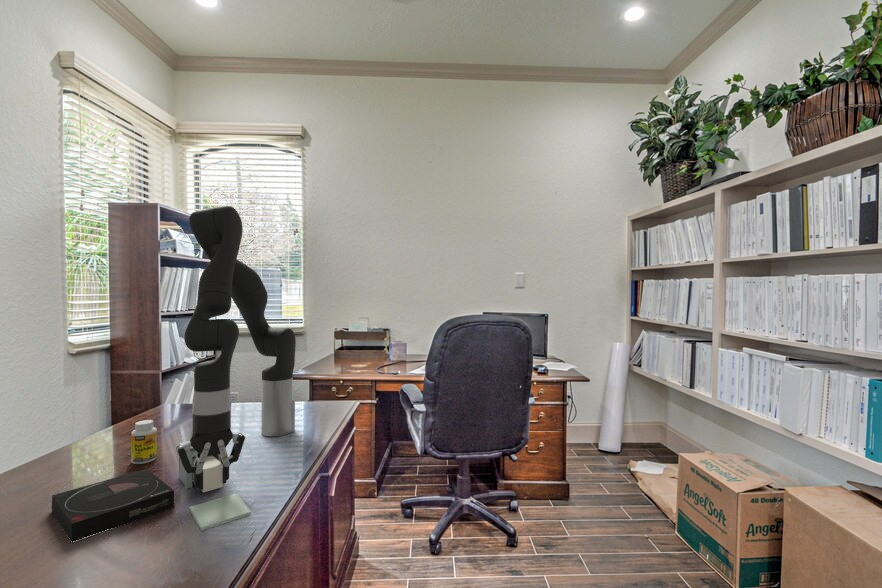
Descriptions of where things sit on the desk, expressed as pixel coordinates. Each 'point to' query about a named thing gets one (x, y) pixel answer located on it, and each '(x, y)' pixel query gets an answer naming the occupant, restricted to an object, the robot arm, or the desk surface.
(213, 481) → the beige rectangular block
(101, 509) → the portable cd player
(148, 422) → the supplement bottle
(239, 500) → the mat
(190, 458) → the dispenser
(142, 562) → the desk surface
